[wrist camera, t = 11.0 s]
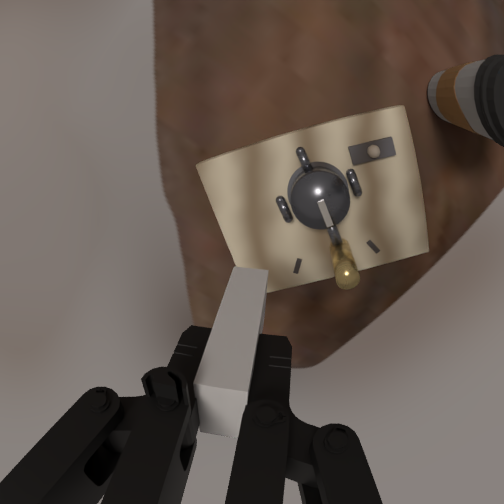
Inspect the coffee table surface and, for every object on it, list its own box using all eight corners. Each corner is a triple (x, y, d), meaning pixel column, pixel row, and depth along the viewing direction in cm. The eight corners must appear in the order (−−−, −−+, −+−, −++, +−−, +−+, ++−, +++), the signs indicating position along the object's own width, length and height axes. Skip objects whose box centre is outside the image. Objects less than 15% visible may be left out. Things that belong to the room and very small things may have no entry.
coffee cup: (485, 110, 28) (565, 127, 15) (442, 142, 31) (515, 173, 18) (451, 52, 26) (526, 38, 12) (404, 83, 29) (470, 78, 16)
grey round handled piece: (259, 162, 33) (250, 177, 27) (338, 130, 30) (349, 137, 24) (307, 268, 38) (309, 302, 32) (377, 243, 35) (393, 273, 29)
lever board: (398, 105, 30) (408, 106, 27) (423, 244, 37) (433, 257, 34) (200, 161, 36) (191, 168, 33) (251, 288, 43) (247, 303, 40)
